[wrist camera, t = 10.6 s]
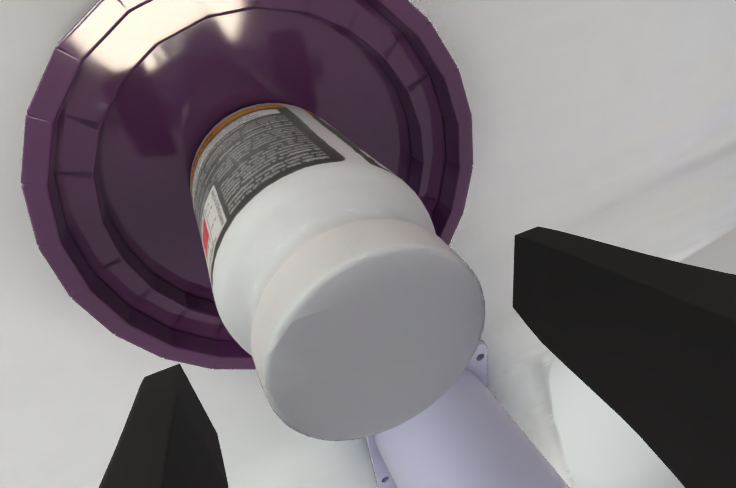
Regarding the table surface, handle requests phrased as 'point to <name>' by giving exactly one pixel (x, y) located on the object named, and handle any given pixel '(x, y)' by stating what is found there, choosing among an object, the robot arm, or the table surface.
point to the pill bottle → (330, 274)
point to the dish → (196, 119)
